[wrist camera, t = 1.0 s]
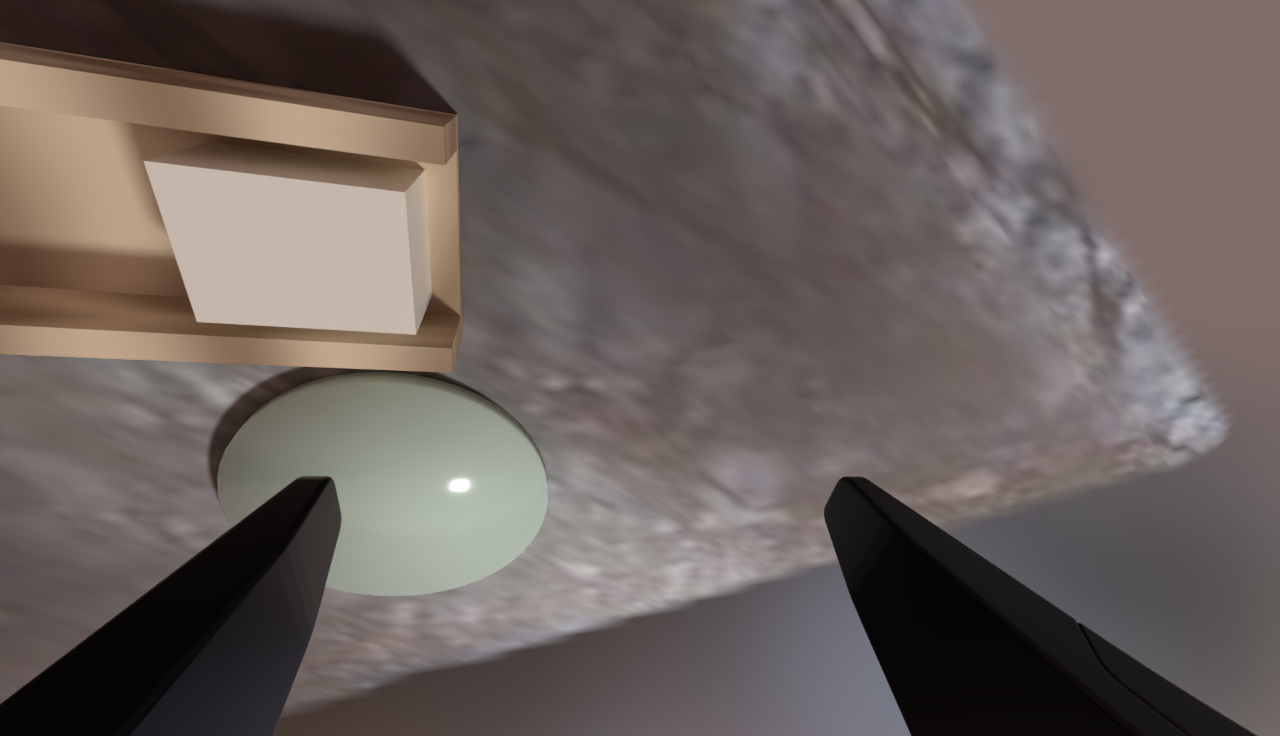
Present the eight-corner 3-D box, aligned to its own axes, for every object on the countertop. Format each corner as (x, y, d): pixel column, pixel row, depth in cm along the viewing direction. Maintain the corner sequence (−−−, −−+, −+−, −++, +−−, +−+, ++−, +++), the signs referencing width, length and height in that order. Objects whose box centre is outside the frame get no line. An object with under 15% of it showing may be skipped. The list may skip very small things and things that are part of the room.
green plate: (266, 590, 26) (259, 604, 25) (183, 363, 19) (170, 375, 18) (539, 575, 29) (539, 588, 28) (558, 378, 22) (559, 389, 21)
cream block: (246, 281, 17) (196, 321, 15) (209, 141, 15) (143, 160, 12) (431, 296, 18) (416, 334, 16) (425, 169, 16) (405, 192, 14)
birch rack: (23, 307, 17) (-63, 351, 14) (-128, 21, 12) (-284, 16, 10) (462, 333, 20) (452, 372, 18) (457, 114, 16) (444, 126, 13)
